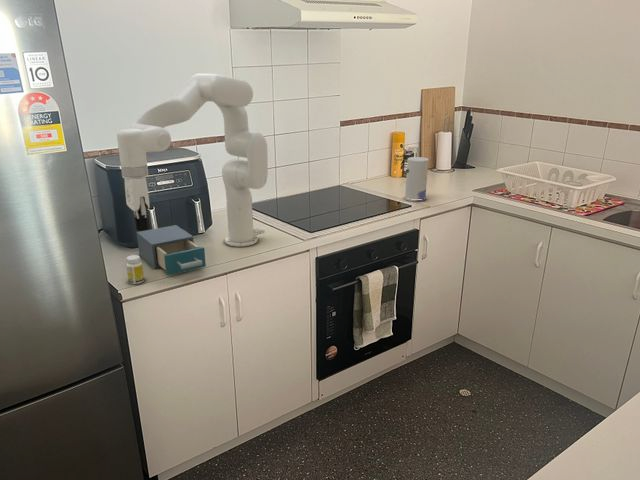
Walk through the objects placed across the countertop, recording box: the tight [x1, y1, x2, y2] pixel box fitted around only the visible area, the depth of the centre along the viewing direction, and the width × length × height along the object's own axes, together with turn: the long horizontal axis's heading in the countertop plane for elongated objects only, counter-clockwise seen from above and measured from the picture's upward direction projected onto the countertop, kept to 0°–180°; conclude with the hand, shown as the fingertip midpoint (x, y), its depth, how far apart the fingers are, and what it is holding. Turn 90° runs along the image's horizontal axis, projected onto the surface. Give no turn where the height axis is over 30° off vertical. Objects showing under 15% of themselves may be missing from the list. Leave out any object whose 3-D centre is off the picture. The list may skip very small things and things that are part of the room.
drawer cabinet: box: [136, 224, 195, 270], centre depth 196 cm, size 16×15×9 cm
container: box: [404, 156, 430, 203], centre depth 268 cm, size 10×10×20 cm
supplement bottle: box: [126, 254, 145, 285], centre depth 176 cm, size 5×5×8 cm
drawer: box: [155, 240, 207, 277], centre depth 186 cm, size 20×14×7 cm
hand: (142, 229), depth 172 cm, fingers closed
